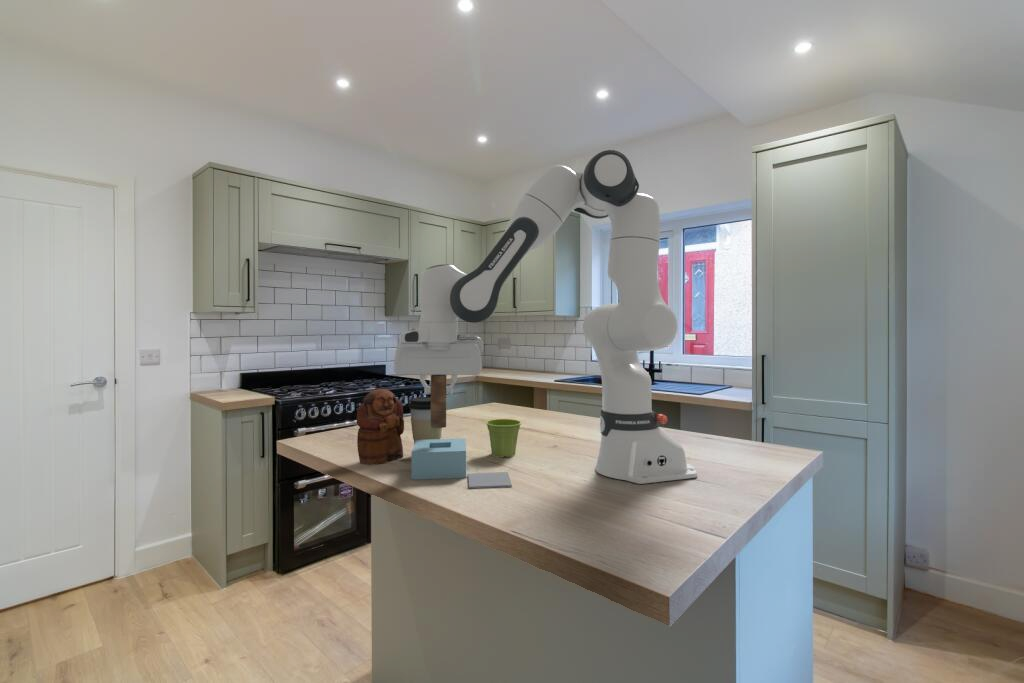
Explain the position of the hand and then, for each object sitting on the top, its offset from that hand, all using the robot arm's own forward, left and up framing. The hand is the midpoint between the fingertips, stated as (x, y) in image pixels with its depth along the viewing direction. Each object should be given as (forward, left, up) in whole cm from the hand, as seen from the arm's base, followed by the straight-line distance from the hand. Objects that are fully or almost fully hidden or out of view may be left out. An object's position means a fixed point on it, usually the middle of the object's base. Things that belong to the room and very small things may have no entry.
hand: (438, 394), depth 113 cm
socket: (0, 0, -18) cm, 18 cm away
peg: (0, 0, -8) cm, 8 cm away
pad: (-11, +9, -18) cm, 23 cm away
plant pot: (-16, -12, -18) cm, 27 cm away
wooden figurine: (+15, -11, -18) cm, 26 cm away
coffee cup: (+4, -13, -18) cm, 23 cm away
